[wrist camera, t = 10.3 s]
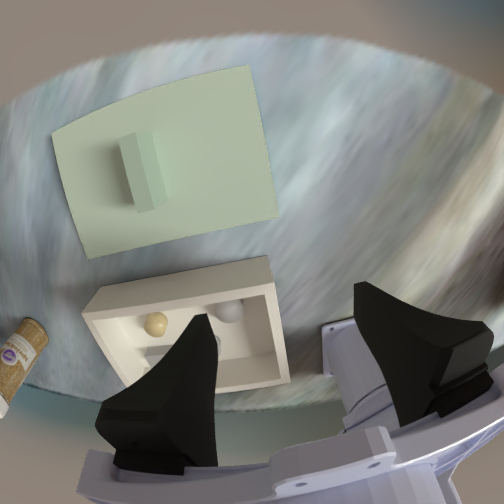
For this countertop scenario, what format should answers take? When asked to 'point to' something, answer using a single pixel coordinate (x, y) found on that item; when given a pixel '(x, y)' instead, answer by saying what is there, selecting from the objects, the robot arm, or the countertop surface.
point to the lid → (167, 164)
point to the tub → (180, 314)
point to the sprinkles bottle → (19, 359)
